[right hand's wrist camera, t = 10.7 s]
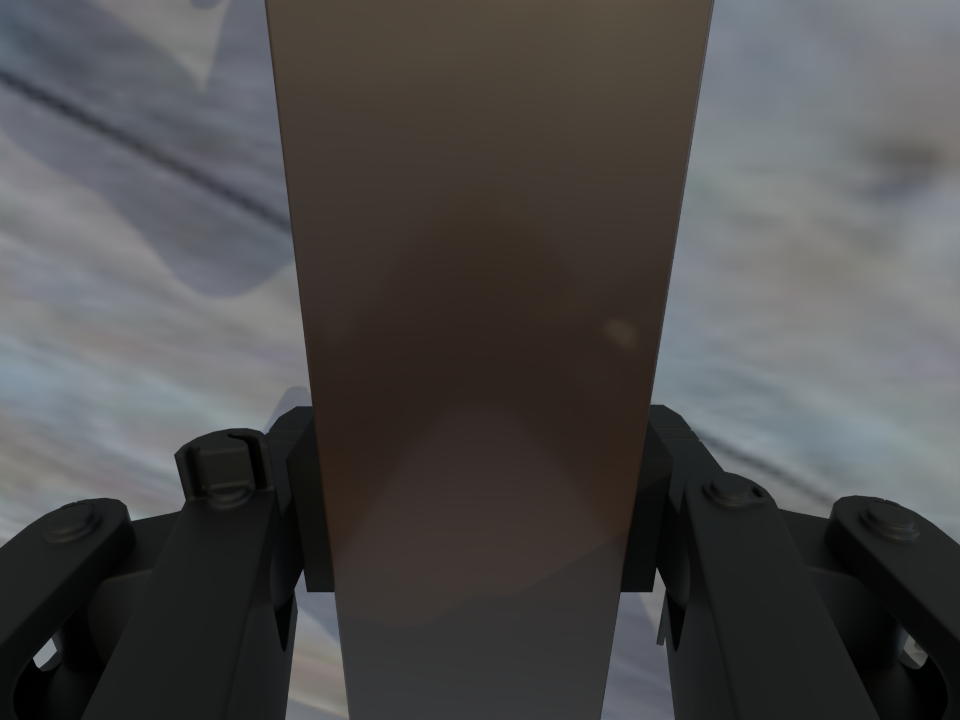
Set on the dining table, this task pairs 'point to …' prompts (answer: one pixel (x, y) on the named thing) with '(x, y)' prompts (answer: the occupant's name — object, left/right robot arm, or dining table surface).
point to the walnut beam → (482, 325)
